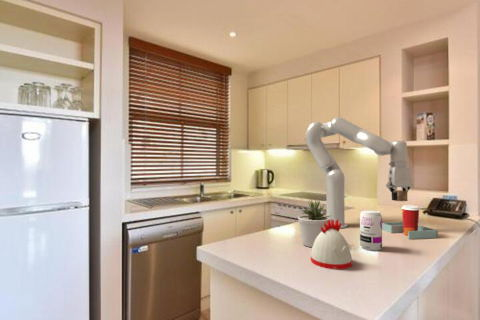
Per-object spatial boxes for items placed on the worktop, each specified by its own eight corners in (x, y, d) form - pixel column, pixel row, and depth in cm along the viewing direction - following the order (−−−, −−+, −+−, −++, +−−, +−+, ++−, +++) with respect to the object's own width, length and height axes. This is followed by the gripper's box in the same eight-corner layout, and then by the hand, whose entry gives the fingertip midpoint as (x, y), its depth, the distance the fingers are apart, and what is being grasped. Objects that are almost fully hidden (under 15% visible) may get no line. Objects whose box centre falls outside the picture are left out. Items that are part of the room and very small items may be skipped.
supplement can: (380, 246, 117) (380, 210, 117) (383, 252, 109) (383, 213, 109) (359, 244, 120) (359, 209, 120) (361, 250, 112) (360, 212, 112)
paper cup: (413, 232, 139) (413, 204, 139) (423, 237, 131) (423, 207, 131) (397, 232, 139) (397, 204, 139) (407, 237, 131) (407, 207, 131)
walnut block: (398, 201, 141) (398, 191, 141) (391, 200, 146) (391, 190, 146) (407, 201, 142) (407, 191, 142) (400, 199, 147) (400, 190, 147)
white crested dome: (360, 266, 94) (360, 222, 94) (325, 271, 90) (325, 225, 90) (335, 254, 107) (335, 215, 107) (303, 257, 103) (303, 217, 103)
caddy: (409, 239, 127) (409, 231, 127) (381, 229, 146) (381, 222, 146) (437, 237, 130) (437, 230, 130) (406, 228, 149) (406, 221, 149)
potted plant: (336, 249, 113) (336, 199, 113) (303, 249, 112) (302, 200, 112) (324, 240, 125) (324, 196, 126) (294, 241, 125) (294, 196, 125)
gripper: (389, 165, 139) (389, 201, 139) (418, 164, 142) (419, 200, 142) (379, 165, 146) (379, 199, 146) (407, 164, 149) (408, 198, 149)
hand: (399, 199), depth 144 cm, fingers closed on walnut block, 5 cm apart
